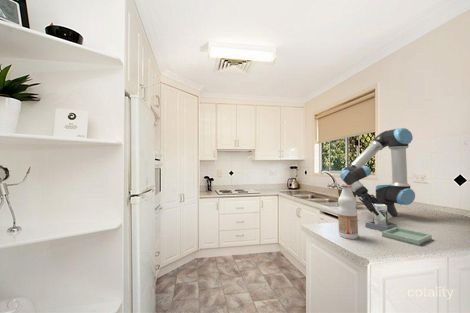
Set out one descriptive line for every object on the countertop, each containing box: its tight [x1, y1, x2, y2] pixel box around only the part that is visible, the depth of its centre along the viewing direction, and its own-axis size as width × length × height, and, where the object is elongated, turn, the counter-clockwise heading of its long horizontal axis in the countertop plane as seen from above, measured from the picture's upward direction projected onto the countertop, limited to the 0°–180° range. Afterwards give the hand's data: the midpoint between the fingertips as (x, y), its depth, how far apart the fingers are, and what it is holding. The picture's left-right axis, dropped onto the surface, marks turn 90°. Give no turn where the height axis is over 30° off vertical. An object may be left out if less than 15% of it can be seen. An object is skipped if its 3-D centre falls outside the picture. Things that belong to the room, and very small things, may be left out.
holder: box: [365, 220, 398, 232], centre depth 132 cm, size 12×12×3 cm
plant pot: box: [337, 188, 357, 199], centre depth 193 cm, size 15×15×16 cm
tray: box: [381, 226, 433, 246], centre depth 114 cm, size 16×16×2 cm
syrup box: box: [373, 204, 389, 226], centre depth 132 cm, size 6×6×14 cm
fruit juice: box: [337, 184, 359, 240], centre depth 119 cm, size 9×9×28 cm
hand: (386, 218), depth 130 cm, fingers closed on syrup box, 8 cm apart
